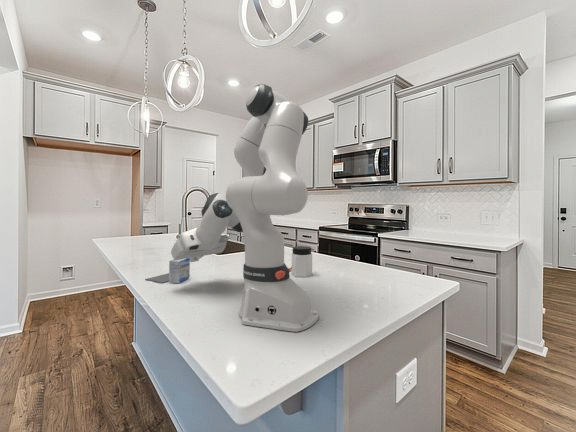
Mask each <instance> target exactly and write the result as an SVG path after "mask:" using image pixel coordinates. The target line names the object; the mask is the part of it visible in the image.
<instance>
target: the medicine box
mask: <svg viewBox="0 0 576 432" xmlns="http://www.w3.org/2000/svg"><path fill="white" fill-rule="evenodd" d="M168 263H169V265H168V268H169V269H168V270H169V272H168V273H169V282H168V283H174V284H181V283H182V282H184V281H186V280H188V279H190V276H189V275H191V274H190V273H191V271H190V269H191V262H190V258H186V259H180V260H174V258H173V259H172V260H169V262H168Z"/></svg>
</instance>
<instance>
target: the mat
mask: <svg viewBox="0 0 576 432" xmlns="http://www.w3.org/2000/svg"><path fill="white" fill-rule="evenodd" d="M190 276H191V274H189V277H190ZM145 281H149V282H153V283H156V284H157V283H158V284H166V283H170V282H169V272H168V273H164V274H159V275H156V276H153V277H148V278H145Z"/></svg>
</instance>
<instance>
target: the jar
mask: <svg viewBox="0 0 576 432" xmlns="http://www.w3.org/2000/svg"><path fill="white" fill-rule="evenodd" d="M291 251H292V253H291V267H292V269H291V270H292V271H291V275H292V276H293V277H295V278H309V277H311V276H313V253H312V247H311V246H303V245H299V246H298V245H296V246H293V247H292V250H291Z"/></svg>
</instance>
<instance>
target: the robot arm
mask: <svg viewBox="0 0 576 432" xmlns="http://www.w3.org/2000/svg"><path fill="white" fill-rule="evenodd" d="M245 103H246V104H245V105H246V110H247V112H248V113H249V114H250V115H251V116H252V117H250V119H249V120H248V122H247V124H246V125H245V127H243V130H242V131H241V133H240V135H239V137H238V139H237V140H236V143H235V146H234V148H233V149H234V150H233V154H234V158H235V160H236V162H237V163H238V165H239V166H240V168H242V169H243V170H244V171H245V173H246V174H247V176H243V177H240V178H239V177H238V178H237V179H235V180H232V181H231V182H230V183H229V184H228V186H227V187H226V191H225V194H222V193H220V192H216V193H212V194H210V195H209V196H208V197H207V199H206V201H205V204H204V206H203V207H202V208H201V217H202V218H201V220H200V223H199V225H197V227H195V228H192V229H189V230H187V231H183V232H180V235H179V239H177V240H176V241H175V243H174V244H173V246H172V248H171V251H170V254H171V256H172V258H173V259H174V260H180V259H186V258H190V263H194V262H198V261H199V260H200V259H202V258H203V257H204V256H209V255H215V254H217V255H218V254H221V253H223V252H224V251H225V249H226V246H227V245H228V243H227V242H228V241H229V239H230V237H229V235H227V234H224V232H225V231H226V229H227V228H228V227H229V228H231V230H234V231H236V233H243V239H244V242H243V243H244V264H243V269H242V270H243V271H242V274H243V281H244V282H243V283H244V285H243V294H242V300H241V305H240V309H239V312H238V315H239V317H240V318H241V319H242V321H241V323H242V325H245V326H252V327H256V328H257V327H258V328H264V329H272V330H279V331H280V330H281V331H285V332H286V331H287V332H293V333H294V332H295V333H296V332H301V331H305V330H307V329H308V328H310V327H312V326H313V325H315V324H316V323H317V321H318V320H319V317H320V316H319V310H316V309H314V308H312V306H311V300H310V296H309V293H307V292H306V291H305V290H304V289H303V288H302V287H301V286H300V285H299V284H297V283H296V282H295V281H294V280H293V278H291V276H290V275H291V274H290V273H292V266H291V267H288V266H287V265H286V263H285V237H284V234H283V233H282V232H281V231H279V230H278V229H277V228H276V227H275V226H274V224H273V222H272V218H271V216H289V215H293V214H298V213H300V212H301V211H302V210H303V209H304V208H305V207H306V204H307V202H308V197H309V195H308V188H307V186H306V183H305V181H304V180H303V179H302V178H301V177H300V176H299V174H298V173H297V170H296V162H297V155H298V151H299V147H300V144H301V140H302V136H303V135H304V133H305V132H306V130H307V128H308V126H309V117H308V115H307V113H306V112H304V110H303V109H302V107H301V106H300V105H299V104H297V103H296V102H294V101H291V100H290V99H289V98H288V97H286V96H285V95H283V94H282V93H280V92H279V91H277V90H275V89H273V88H272V86H269V85H268V84H266V83H259V84H257V85H255V87H253V88H252V89H251V90H250V92H249V93H248V96H247V99H246V102H245ZM222 234H223V235H222Z"/></svg>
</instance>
